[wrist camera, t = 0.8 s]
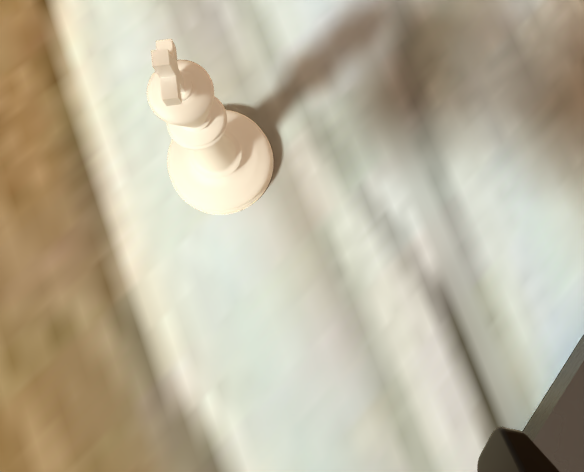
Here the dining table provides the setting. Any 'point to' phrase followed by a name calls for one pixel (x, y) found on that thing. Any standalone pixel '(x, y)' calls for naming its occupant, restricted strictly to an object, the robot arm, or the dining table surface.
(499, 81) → the dining table surface
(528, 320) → the dining table surface
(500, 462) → the robot arm
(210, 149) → the chess piece
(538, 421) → the lens mount
